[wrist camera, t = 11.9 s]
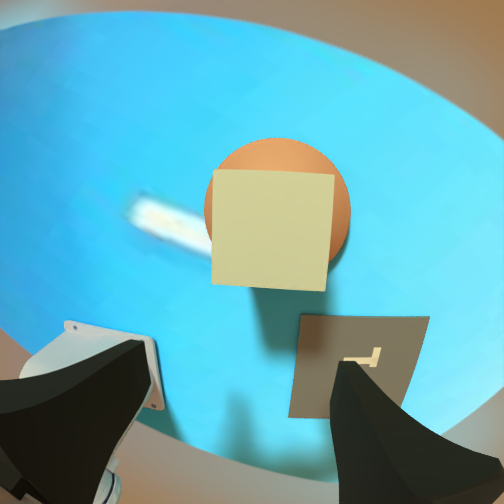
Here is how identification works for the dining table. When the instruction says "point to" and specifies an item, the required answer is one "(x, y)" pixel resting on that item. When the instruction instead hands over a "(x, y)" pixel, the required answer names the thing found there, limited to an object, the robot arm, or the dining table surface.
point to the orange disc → (293, 160)
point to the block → (271, 228)
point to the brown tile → (353, 356)
